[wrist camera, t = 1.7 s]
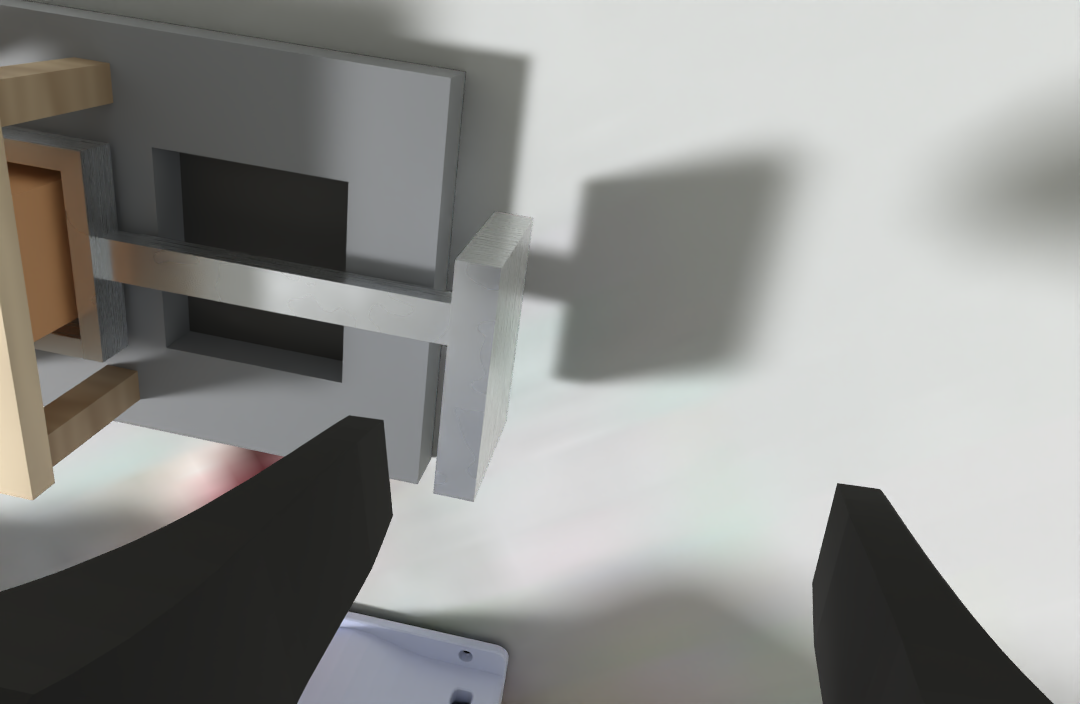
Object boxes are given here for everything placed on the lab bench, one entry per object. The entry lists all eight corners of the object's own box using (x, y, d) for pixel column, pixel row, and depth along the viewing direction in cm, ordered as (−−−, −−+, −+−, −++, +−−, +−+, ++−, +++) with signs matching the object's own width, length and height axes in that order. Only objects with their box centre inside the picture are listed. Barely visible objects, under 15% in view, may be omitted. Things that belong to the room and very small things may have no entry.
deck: (465, 71, 21) (450, 78, 20) (431, 458, 26) (417, 484, 25) (-319, -56, 23) (-381, -58, 22) (-209, 326, 28) (-253, 344, 27)
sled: (533, 217, 21) (501, 268, 17) (506, 420, 23) (473, 502, 20) (-97, 106, 22) (-248, 131, 19) (-56, 308, 25) (-182, 364, 21)
